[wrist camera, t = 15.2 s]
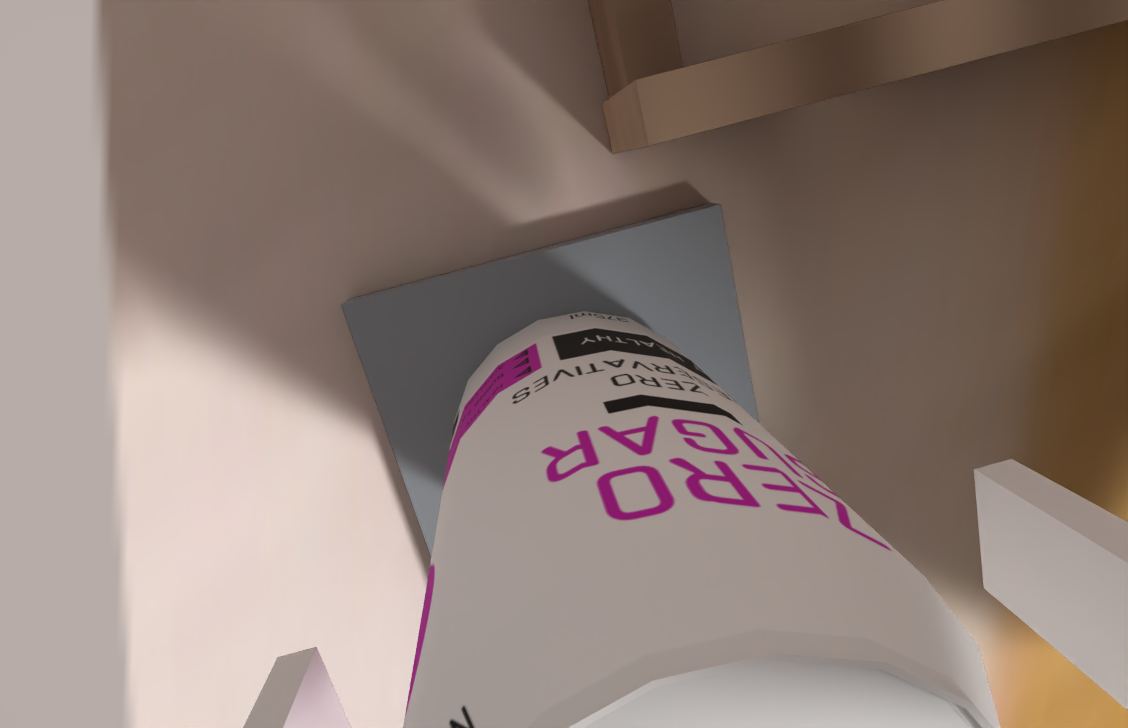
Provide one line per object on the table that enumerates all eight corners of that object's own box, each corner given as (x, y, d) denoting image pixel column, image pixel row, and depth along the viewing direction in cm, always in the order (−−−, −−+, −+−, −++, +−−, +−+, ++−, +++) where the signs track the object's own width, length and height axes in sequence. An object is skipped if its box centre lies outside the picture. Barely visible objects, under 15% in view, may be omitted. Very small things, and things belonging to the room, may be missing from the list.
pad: (710, 203, 21) (720, 204, 20) (767, 522, 25) (778, 536, 24) (347, 299, 21) (341, 305, 20) (457, 609, 24) (456, 627, 23)
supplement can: (511, 572, 23) (540, 1230, 9) (415, 361, 21) (231, 782, 6) (728, 489, 23) (1121, 1011, 9) (657, 268, 21) (1034, 477, 6)
